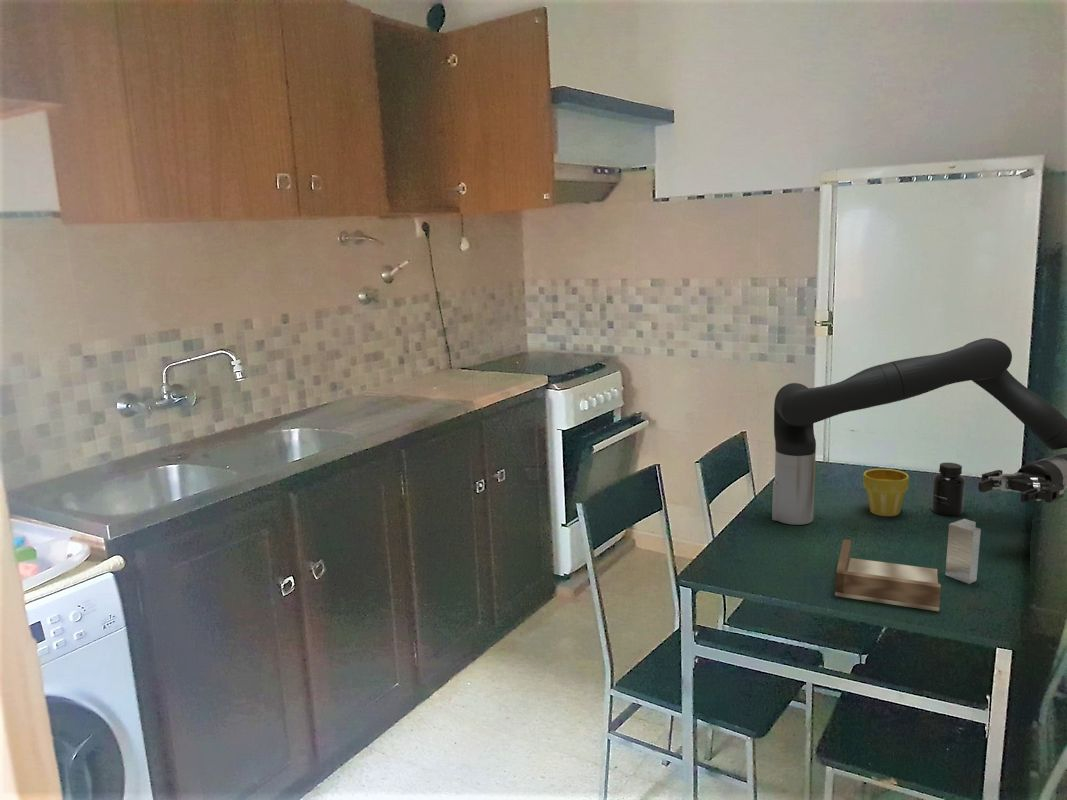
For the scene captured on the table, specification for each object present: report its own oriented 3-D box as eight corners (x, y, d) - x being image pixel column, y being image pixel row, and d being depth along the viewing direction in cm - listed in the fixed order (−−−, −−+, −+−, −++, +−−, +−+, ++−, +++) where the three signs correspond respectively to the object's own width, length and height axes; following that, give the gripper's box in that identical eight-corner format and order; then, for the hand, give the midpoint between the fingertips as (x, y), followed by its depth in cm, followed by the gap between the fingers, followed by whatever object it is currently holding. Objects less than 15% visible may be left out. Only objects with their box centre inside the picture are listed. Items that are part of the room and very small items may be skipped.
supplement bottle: (932, 515, 194) (935, 467, 191) (930, 506, 200) (933, 460, 197) (964, 518, 191) (968, 470, 189) (961, 508, 197) (964, 462, 195)
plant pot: (852, 509, 200) (854, 471, 198) (883, 502, 204) (886, 465, 202) (884, 522, 190) (886, 483, 188) (916, 515, 194) (919, 476, 192)
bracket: (945, 575, 161) (949, 523, 159) (960, 569, 164) (964, 518, 161) (969, 584, 157) (973, 531, 155) (984, 577, 159) (988, 525, 157)
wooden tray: (834, 595, 154) (836, 572, 153) (842, 560, 170) (843, 539, 169) (939, 611, 146) (940, 587, 145) (936, 572, 162) (938, 550, 161)
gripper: (1013, 453, 175) (968, 467, 167) (1083, 467, 163) (1039, 483, 155) (1010, 485, 176) (966, 501, 169) (1080, 502, 164) (1036, 520, 156)
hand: (1001, 492), depth 162 cm, fingers open, 8 cm apart
